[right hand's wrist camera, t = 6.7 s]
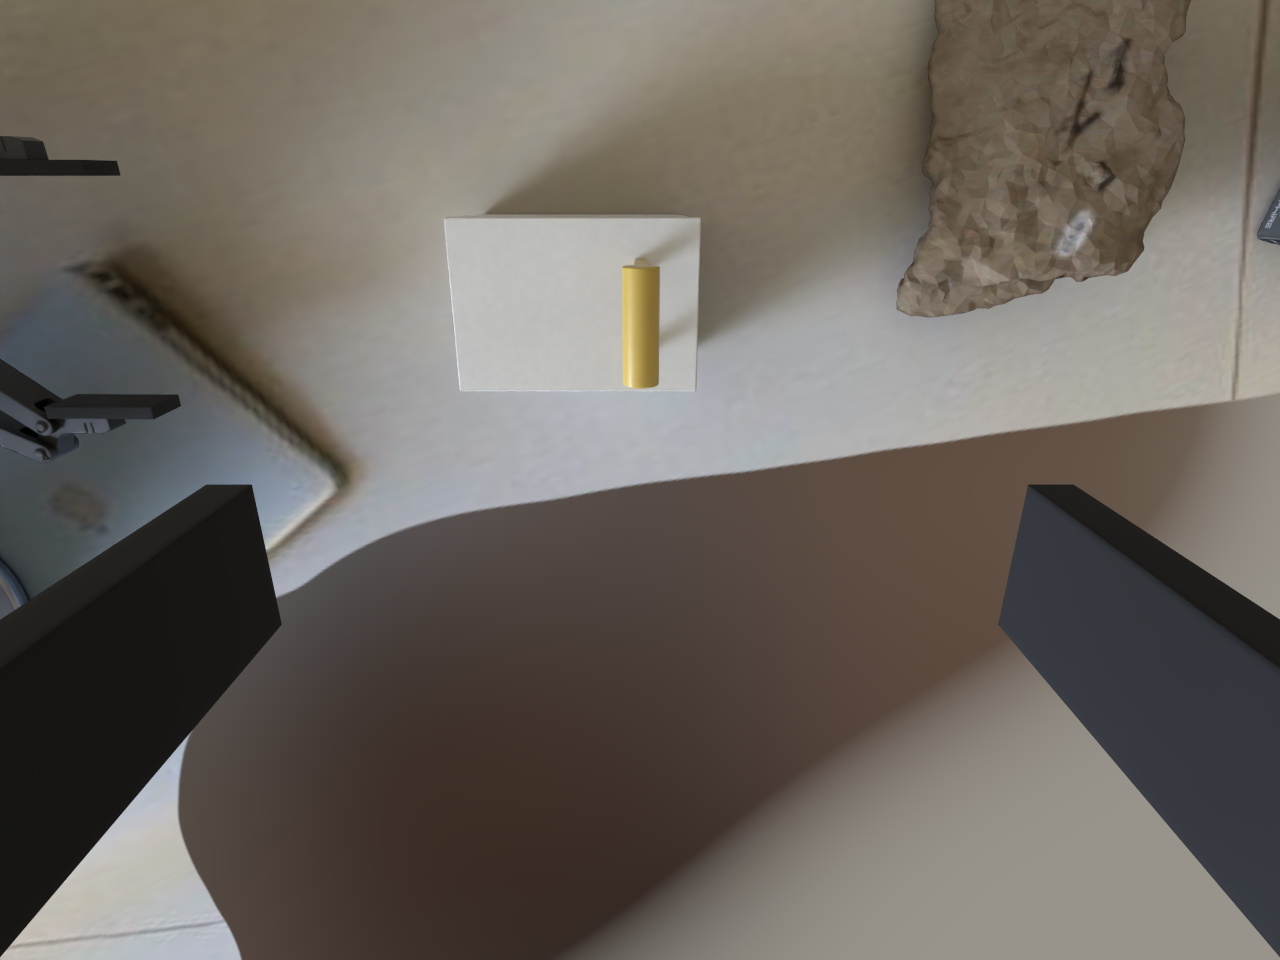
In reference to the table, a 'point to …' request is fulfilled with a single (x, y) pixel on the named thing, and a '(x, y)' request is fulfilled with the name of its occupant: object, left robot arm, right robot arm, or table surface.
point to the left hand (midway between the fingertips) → (136, 294)
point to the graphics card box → (1271, 223)
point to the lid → (575, 302)
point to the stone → (1042, 146)
